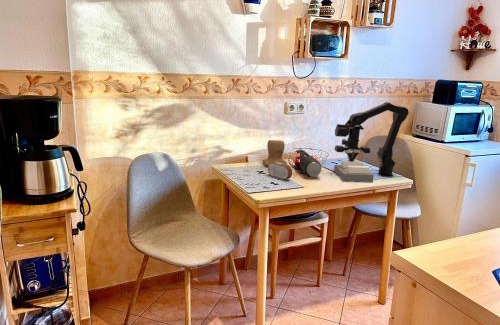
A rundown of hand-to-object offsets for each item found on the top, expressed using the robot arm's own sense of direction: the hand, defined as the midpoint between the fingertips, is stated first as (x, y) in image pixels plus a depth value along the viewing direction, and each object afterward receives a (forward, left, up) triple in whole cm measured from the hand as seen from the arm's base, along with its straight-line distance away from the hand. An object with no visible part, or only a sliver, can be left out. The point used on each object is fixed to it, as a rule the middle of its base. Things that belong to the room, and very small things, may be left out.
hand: (350, 164), depth 213 cm
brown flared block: (+42, -16, -6) cm, 45 cm away
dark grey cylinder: (+25, -1, -6) cm, 26 cm away
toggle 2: (0, +13, -1) cm, 13 cm away
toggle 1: (0, +3, -1) cm, 3 cm away
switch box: (0, +6, -6) cm, 8 cm away
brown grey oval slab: (+42, +12, -6) cm, 44 cm away
